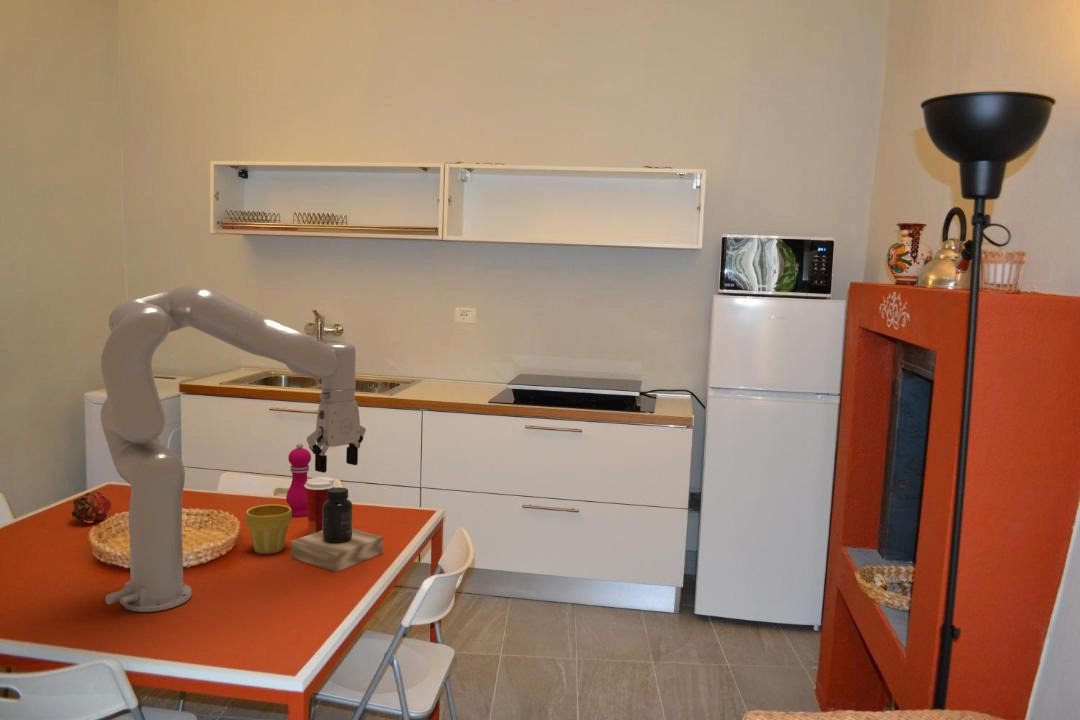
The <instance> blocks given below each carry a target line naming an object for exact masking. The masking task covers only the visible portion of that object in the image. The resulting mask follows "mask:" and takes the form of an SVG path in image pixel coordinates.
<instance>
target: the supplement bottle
mask: <svg viewBox="0 0 1080 720" xmlns="http://www.w3.org/2000/svg"><path fill="white" fill-rule="evenodd" d="M327 499H328V500H327V501H325V502H324V504H323V540H324V541H325V542H327V543H332V544H339V543H345V542H348V541H349V540H351V538H352V528H353V502H352V501H351V500H350V499H349V489H348V488H346V487H342V486H341V487H340V486H339V487H334V488H331V489H328V490H327Z"/></svg>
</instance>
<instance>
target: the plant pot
mask: <svg viewBox="0 0 1080 720" xmlns="http://www.w3.org/2000/svg"><path fill="white" fill-rule="evenodd" d="M292 517H293V516H292V510H291V508H290V506H289V505H285V504H278V503H277V504H276V503H275V504H272V503H270V504H260V505H256V506H253V507H250V508H248V509H247V510H246V512H245V525H246V527H248V528H249V532H250V537H251V542H252V546H253V550H254V552H255V553H257V554H265V555H271V554H276V553H278V552H281V551H282V550H283V549H284V545H285V543H286V542H285V541H286V537H287V532H288V527H289V526H290V524H291V523H292Z"/></svg>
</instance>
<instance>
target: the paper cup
mask: <svg viewBox="0 0 1080 720" xmlns="http://www.w3.org/2000/svg"><path fill="white" fill-rule="evenodd" d="M304 486H305V488H306V497H307V514H308V515H307V524H308V525H307V527H308V535H310V534H313V533H316V532H319V531H322V530H323V504H324V502H325V501H327V500H328V499H327V490H328V489H331V488H336V486H337V484H336V482H335V480H334V479H333V478H331V477H325V476H320V477H313V478H309V479H307V482H306V484H305V485H304Z"/></svg>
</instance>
